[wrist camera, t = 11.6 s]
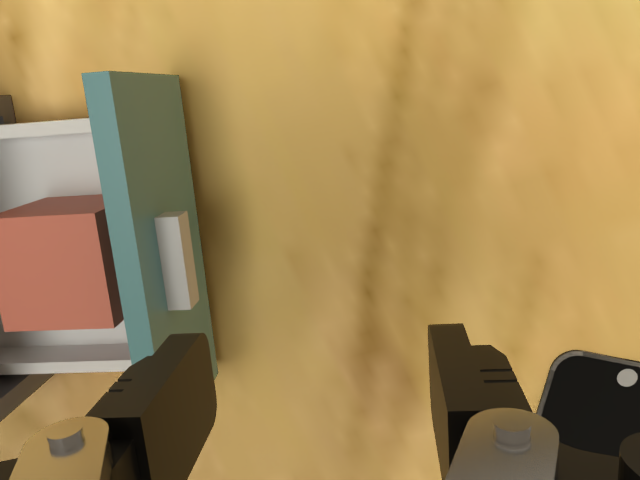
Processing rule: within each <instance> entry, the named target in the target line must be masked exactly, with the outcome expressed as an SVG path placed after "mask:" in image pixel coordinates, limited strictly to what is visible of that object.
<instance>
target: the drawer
mask: <svg viewBox="0 0 640 480" xmlns="http://www.w3.org/2000/svg"><path fill="white" fill-rule="evenodd" d="M81 74H82V79H83V85H84V91H85V97H86V103H87V108H88V114H89V118H77V119H65V120H52V121H40V122H27V123H15V124H2V125H0V213H1V212H4V211H7V210H10V209H13V208H16V207H19V206H22V205H25V204H28V203H31V202H34V201H37V200H40V199H43V198H46V197H63V196H80V195H97V194H102V195H103V201H104V207H105V213H106V219H107V224H108V230H109V236H110V242H111V248H112V253H113V259H114V265H115V271H116V277H117V282H118V288H119V294H120V300H121V306H122V311H123V317H124V320H123V321H122V322H121V323H120V324H119V325H117V326H116V327H115V328H110V329H79V330H47V331H16V332H4V328H3V323H2V319H1V314H0V375H15V374H50V373H86V372H122V371H126V370H127V369H128V367H130V366H131V365H133V364H135V363H136V362H138V361H140V360H141V359H143V358H145V357H146V356H152V355H153V354H154V353H155V352H156V351H157V349H158V348H159V347H160V346H161V345H162V343H163V342H164V341H165V340H166V339H167V337H168V336H169V335H170V334H183V333H205V335H206V336H207V339H208V342H209V348H210V355H211V362H212V370H213V377H214V380H215V378H216V376H217V374H218V368H217V361H216V353H215V345H214V338H213V330H212V323H211V315H210V308H209V300H208V293H207V285H206V278H205V270H204V263H203V255H202V248H201V240H200V233H199V225H198V218H197V210H196V203H195V195H194V188H193V180H192V173H191V165H190V158H189V150H188V143H187V135H186V128H185V120H184V113H183V105H182V98H181V90H180V83H179V75H165V74H149V73H133V72H117V71H103V72H92V73H81Z"/></svg>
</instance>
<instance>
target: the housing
mask: <svg viewBox="0 0 640 480" xmlns="http://www.w3.org/2000/svg"><path fill="white" fill-rule="evenodd" d="M15 123H16V119H15V114H14V109H13V104H12V99H11V95H0V125H2V124H15ZM54 374H55V373H50V374H15V375H0V422H1V421H2V420H3V419H4V418H5V417H6V416H7V415H9V414H10V413H11V412H12V411H13V410H14V409H15V408H16V407H18V406H19V405H20V404H21V403H22V402H23V401H24V400H26V399H27V398H28V397H29V396H30V395H31V394H32V393H33V392H35V391H36V390H37V389H38V388H39V387H40V386H41V385H42V384H44V383H45V382H46V381H47V380H48V379H49V378H50V377H52V376H53V375H54Z"/></svg>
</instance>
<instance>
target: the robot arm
mask: <svg viewBox="0 0 640 480" xmlns="http://www.w3.org/2000/svg"><path fill="white" fill-rule="evenodd" d="M428 348H429V375H430V398H431V411H432V420H433V427H434V433H435V439H436V445H437V451H438V457H439V463H440V470H441V476H442V480H640V432H639V433H635V434H632V435H630V436H628V437H627V438H625V439H624V440H623V441H622V442H621V445H620V451H619V457H615V456H610V455H604V454H598V453H593V452H588V451H583V450H579V449H576V448H573V447H570V446H568V445H565V444H563V443H561V442H559V433H558V431H557V429H556V428H555V426H554V425H553V424H552V423H551V422H550V421H548V420H547V419H545V418H544V417H542V416H540V415H538V414H535V413H533V412H532V410H531V408H530V406H529V403H528V401H527V399H526V397H525V395H524V393H523V391H522V389H521V387H520V385H519V382H517V378H516V376H515V374H514V372H513V371H512V368H511V366H510V364H509V361H508V359H507V357H506V356H505V355H504V354H503V353H501V352H500V351H498V350H497V349H495V348H494V347H492V346H491V345H475V346H471V344H470V342H469V339H468V336H467V333H466V331H465V328H464V325H463V323H461V324H434V325H428ZM216 408H217V401H216V391H215V384H214V377H213V370H212V362H211V355H210V348H209V342H208V339H207V336H206V335H205V333H183V334H170V335H169V336H168V337H167V339H166V340H165V341H164V342H163V343H162V345H161V346H160V347H159V348H158V349H157V351H156V352H155V353H154V354H153V355H152V356H146V357H145V358H143V359H141V360H140V361H138V362H136V363H135V364H133V365H131V366H130V367H128V369H127V370H126V371H125V372H124V373H123V374H122V375H121V376H120V378H119V379H118V382H115V383H114V384H113V385H112V386H111V388H110V389H109V392H106V393H105V394H104V395H103V397H102V398H101V399H100V400H99V401H98V402H97V403H96V404H95V406H94V407H93V408H92V409H91V410H90V411H89V412H88V413H87V415H86V416H85V417H76V418H70V419H66V420H63V421H59V422H57V423H54V424H52V425H49V426H47V427H45V428H43V429H42V430H40V431H38V432H37V433H35V434H34V435H33V436H31V437H30V438H29V439H28V440H27V441H26V443H25V444H24V446H23V448H22V450H21V452H20V455H19V457H18V458H16V459H12V460H7V461H2V462H0V480H187V479H188V477H189V475H190V473H191V471H192V469H193V466H194V464H195V462H196V460H197V458H198V456H199V454H200V452H201V450H202V448H203V446H204V444H205V442H206V440H207V438H208V436H209V434H210V432H211V429H212V427H213V425H214V422H215V418H216Z"/></svg>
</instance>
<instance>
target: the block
mask: <svg viewBox="0 0 640 480" xmlns="http://www.w3.org/2000/svg"><path fill="white" fill-rule="evenodd" d="M0 314H1V319H2V323H3V328H4V332H16V331H47V330H79V329H110V328H115V327H116V326H117V325H119V324H120V323H121V322H122V321H123V320H124V317H123V311H122V306H121V300H120V294H119V288H118V282H117V277H116V271H115V265H114V259H113V253H112V248H111V242H110V236H109V230H108V224H107V219H106V213H105V207H104V201H103V195H102V194H97V195H80V196H63V197H46V198H43V199H40V200H37V201H34V202H31V203H28V204H25V205H22V206H19V207H16V208H13V209H10V210H7V211H4V212H1V213H0Z"/></svg>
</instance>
